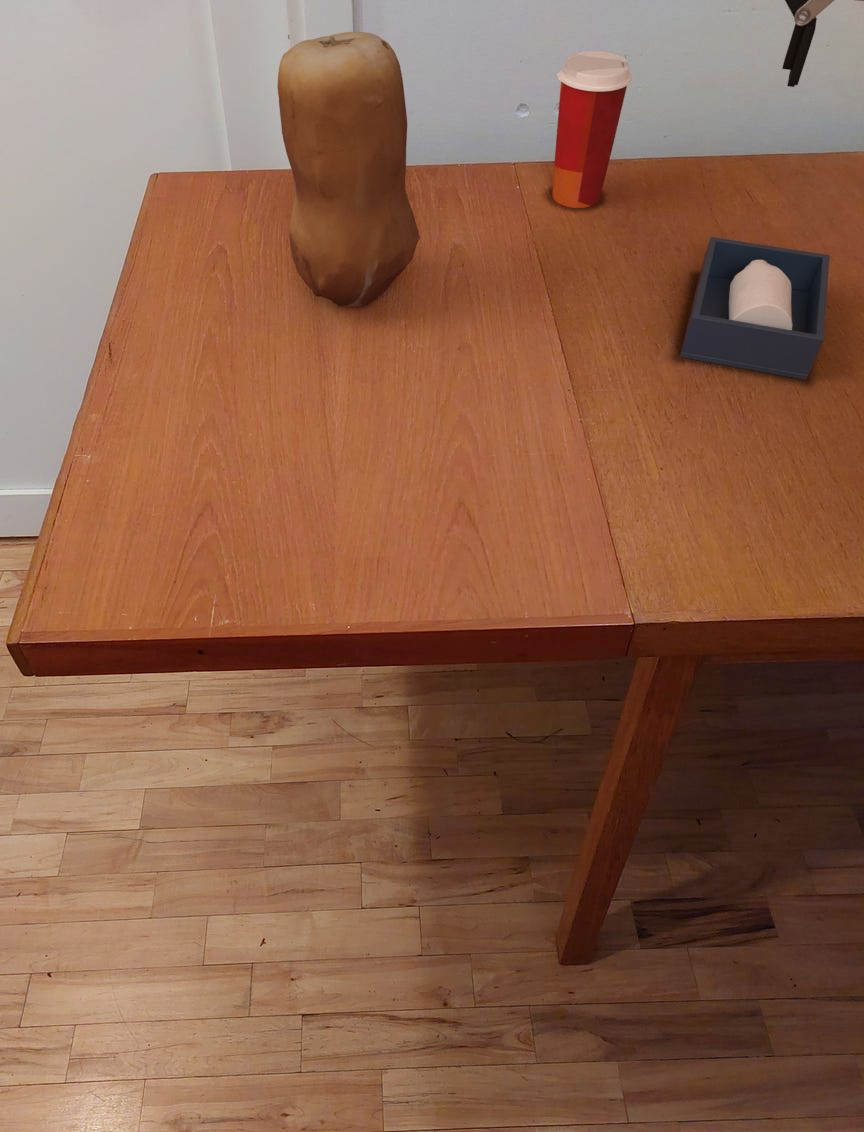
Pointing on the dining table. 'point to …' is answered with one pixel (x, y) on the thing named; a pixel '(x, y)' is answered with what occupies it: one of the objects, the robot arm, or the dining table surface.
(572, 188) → the coffee cup
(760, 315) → the roll
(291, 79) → the butternut squash
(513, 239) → the dining table surface
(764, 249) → the tote
